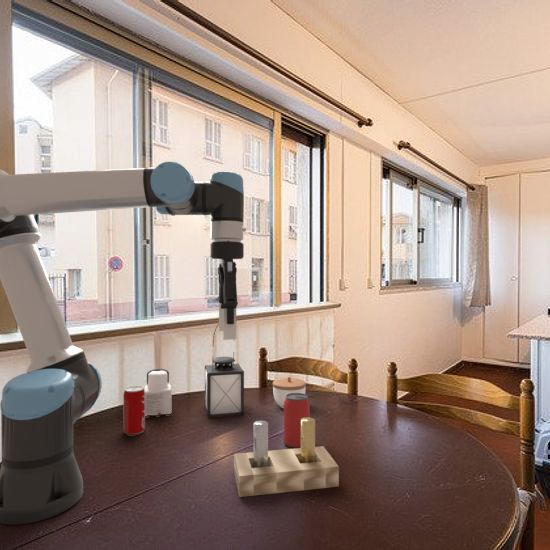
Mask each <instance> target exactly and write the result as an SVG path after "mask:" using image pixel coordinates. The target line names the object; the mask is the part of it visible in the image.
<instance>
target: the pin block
mask: <svg viewBox="0 0 550 550" xmlns="http://www.w3.org/2000/svg"><path fill="white" fill-rule="evenodd" d="M233 473H234V478H235V483H236V488H237V492H238V493H237V494H238V497H239V498H243V497H244V498H245V497H250V496H251V497H253V496H261V495H262V496H263V495H271V494H273V495H274V494H280V493H290V492H299V491H309V490H317V489H327V488H328V489H329V488H336V487H337V488H338V487H339V485H340V482H339V481H340V480H339V478H340V476H339V475H340V466H339V465H338V464H337V462H336V461H335V460H334V458H333V457H332V456H331V454H330V453H329V452H328V451H327V449H326V448H325V446H323V445H321V446H315V462H312V463H302V464H301V448H288V449H287V448H284V449H273V450H268V467H259V468H253V451H252V452H251V451H250V452H242V453H241V452H240V453H234V454H233Z"/></svg>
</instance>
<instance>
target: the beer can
mask: <svg viewBox="0 0 550 550" xmlns="http://www.w3.org/2000/svg"><path fill="white" fill-rule="evenodd" d="M310 405H311V404H310V400H309V396H308V395H307V394H306V393H305V394H302V393H290V394H287V395H286V399H285V401H284V409H283V443H284V444H285V446H287V447H288V448H291V449H296V448H301V419H302V418H305V417H310V418H311V408H310V407H311V406H310Z"/></svg>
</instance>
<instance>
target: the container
mask: <svg viewBox="0 0 550 550" xmlns="http://www.w3.org/2000/svg"><path fill="white" fill-rule="evenodd" d="M144 391H145V416H147V415H158V414H171V413H172V404H173V403H172V402H173V401H172V399H173V398H172V397H173V396H172V394H173V393H172V387H171V383H170V372H169V370H167V369H164V368H156V369H155V368H154V369H152V370H149V371H147V373H146V385H145V386H144ZM172 414H173V413H172ZM172 414H171V415H172Z"/></svg>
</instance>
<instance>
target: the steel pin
mask: <svg viewBox="0 0 550 550" xmlns="http://www.w3.org/2000/svg"><path fill="white" fill-rule="evenodd" d="M252 425H253V429H252V431H253V433H252V434H253V438H252V439H253V440H252V441H253V443H252V445H253V447H252V449H253V451H252V452H253V468H259V467H268V451H269V422H268V421H266V420H256V421H254V422H253V424H252Z"/></svg>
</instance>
